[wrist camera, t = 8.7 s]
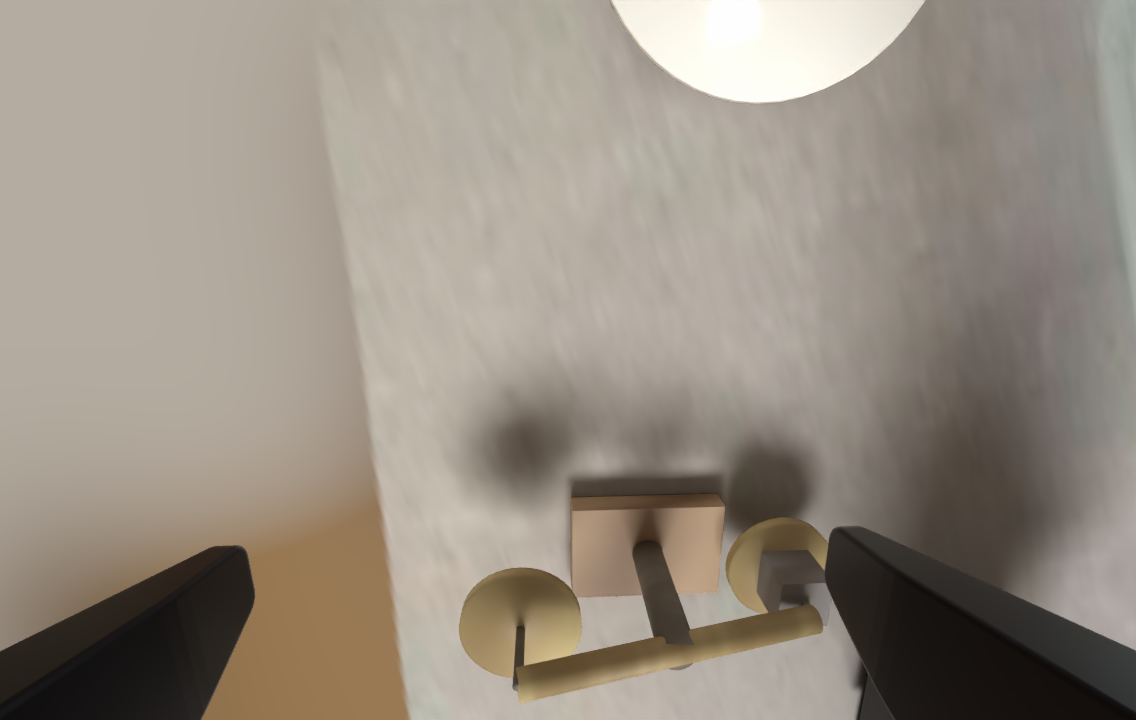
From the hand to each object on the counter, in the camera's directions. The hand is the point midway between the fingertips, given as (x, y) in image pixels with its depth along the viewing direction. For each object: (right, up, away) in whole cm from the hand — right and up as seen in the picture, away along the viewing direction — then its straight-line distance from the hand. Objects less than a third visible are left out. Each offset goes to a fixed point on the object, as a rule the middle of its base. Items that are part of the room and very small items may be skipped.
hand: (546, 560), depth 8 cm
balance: (+3, -4, +14) cm, 15 cm away
